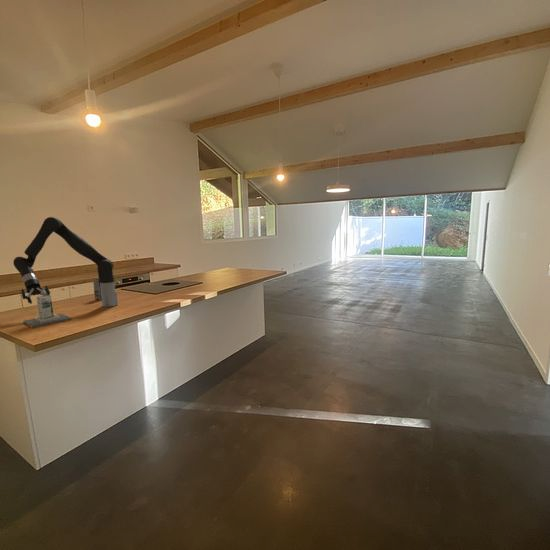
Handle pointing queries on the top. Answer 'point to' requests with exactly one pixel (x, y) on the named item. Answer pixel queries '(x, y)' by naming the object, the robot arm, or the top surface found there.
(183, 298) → the top surface
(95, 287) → the coffee box
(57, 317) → the base board
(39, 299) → the syrup box
